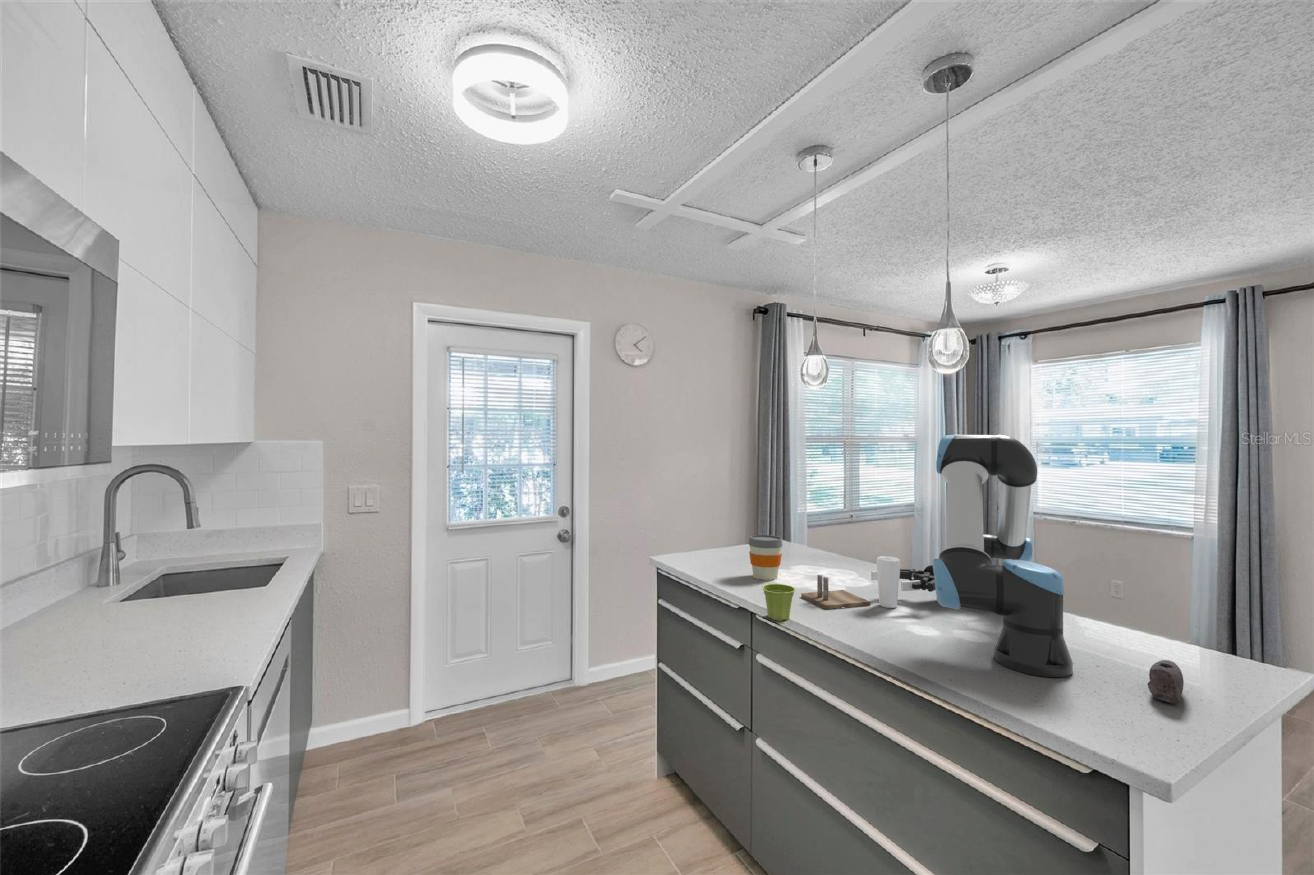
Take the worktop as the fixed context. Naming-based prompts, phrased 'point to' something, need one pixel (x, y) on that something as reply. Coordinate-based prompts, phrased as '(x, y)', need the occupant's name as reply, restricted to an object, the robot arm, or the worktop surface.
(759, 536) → the reusable coffee cup
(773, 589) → the plant pot
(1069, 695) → the worktop surface
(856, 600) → the board
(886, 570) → the white tall cylinder
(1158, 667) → the perforated stone tool
